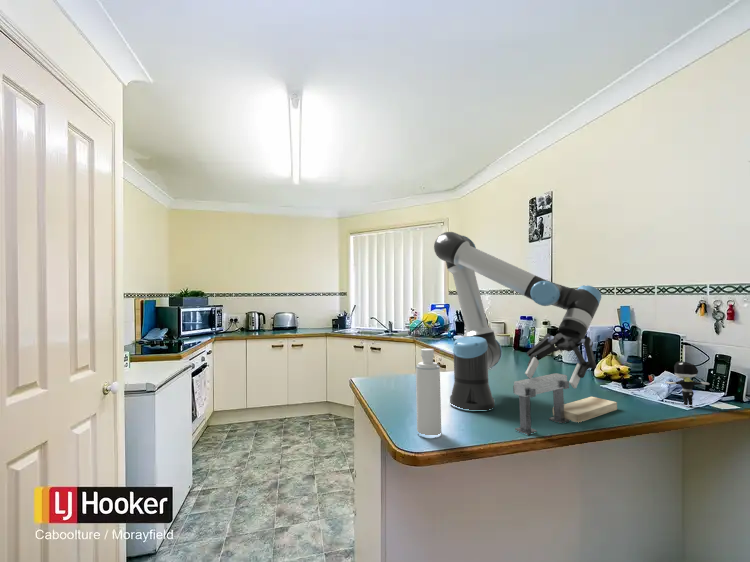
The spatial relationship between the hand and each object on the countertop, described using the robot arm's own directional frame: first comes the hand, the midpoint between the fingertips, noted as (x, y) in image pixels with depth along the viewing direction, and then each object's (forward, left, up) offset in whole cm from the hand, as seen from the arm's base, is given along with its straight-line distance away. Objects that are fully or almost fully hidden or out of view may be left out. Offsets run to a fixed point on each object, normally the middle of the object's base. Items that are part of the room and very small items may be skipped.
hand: (548, 380), depth 99 cm
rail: (-1, -2, -3) cm, 3 cm away
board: (-1, +21, -13) cm, 25 cm away
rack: (-1, -2, -13) cm, 13 cm away
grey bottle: (-14, -34, -13) cm, 39 cm away
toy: (+14, +55, -13) cm, 59 cm away
